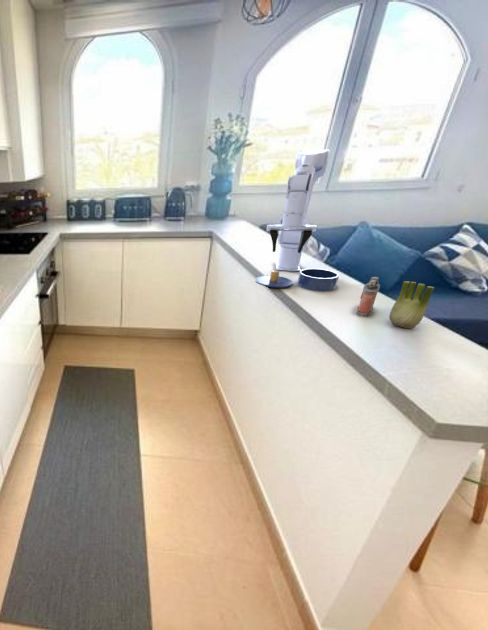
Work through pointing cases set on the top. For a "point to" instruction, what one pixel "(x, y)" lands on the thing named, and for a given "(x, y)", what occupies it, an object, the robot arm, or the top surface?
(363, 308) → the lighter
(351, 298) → the top surface
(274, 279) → the tin lid
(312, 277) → the bowl
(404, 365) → the top surface
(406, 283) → the fennel bulb
